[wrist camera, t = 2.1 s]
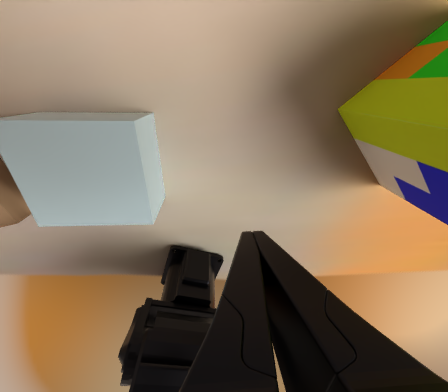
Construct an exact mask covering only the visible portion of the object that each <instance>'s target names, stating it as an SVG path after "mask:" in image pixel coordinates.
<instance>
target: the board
mask: <svg viewBox="0 0 448 392" xmlns="http://www.w3.org/2000/svg"><path fill="white" fill-rule="evenodd" d="M30 214H32V213H31V211H30V209H29V207H28V206H27V204H26V202H25V200H24V198H23V196H22V194H21V192H20V190H19V188H18V186H17V184H16V183H15V181H14V179H13V177H12V175H11V173H10V171H9V169H8V167H7V166H6V165H5V163H4V162H3V161H2V160H1V158H0V227H4V226H8V225H12V224H17V223H19V222H20V221H22V220H23V219H25V218H26V217H27V216H29V215H30Z"/></svg>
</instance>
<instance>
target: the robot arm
mask: <svg viewBox="0 0 448 392" xmlns="http://www.w3.org/2000/svg"><path fill="white" fill-rule="evenodd" d="M174 250H176V251H174ZM218 259H220V260H218ZM222 263H223V257H222V256H221V255H216V254H212V253H207V252H202V251H198V250H193V249H188V248H184V247H179V246H172V247H171V248H170V252H169V255H168V259H167V262H166V266H165V269H164V273H163V276H162V280H161V283H162V284H163V285H164V289H163V293H162V297H161V301H160V300H153V299H152V298H147V299H146V301H145V304H144V305H142V307H140V308H137V310H136V313H135V316H134V319H133V322H132V325H131V327H130V329H129V331H128V334H127V336H126V338H125V340H124V343H123V345H122V347H121V349H120V352H119V356H118V358H119V360H120V362H121V364H122V370H121V372H122V373H123V374H122V379H121V383H120V385H121V386H130V390H129V392H279V389H278V382H277V375H276V368H275V360H274V353H273V346H274V350H275V354H276V357H277V361H278V365H279V368H280V371H281V375H282V379H283V382H284V385H285V390H286V392H448V382H447V381H446V380H444V379H442V378H441V377H440V376H438V375H436V374H435V373H434V372H432V371H431V370H430V369H428V368H427V367H426V366H424V365H423V364H421V363H420V362H419V361H418V360H416V359H415V358H414V357H412V356H411V355H410V354H408V353H407V352H406V351H404V350H403V349H402V348H401V347H399V346H398V345H397V344H395V343H394V342H393V341H391V340H390V339H389V338H387V337H386V336H385V335H383V334H382V333H381V332H380V331H378V330H377V329H376V328H374V327H373V326H371V325H370V324H369V323H368V322H366V321H365V320H364V319H363V318H362V317H360V316H359V315H358V314H357V313H355V312H354V311H353V310H352V309H351V308H349V307H348V306H347V305H346V304H345V303H343V302H342V301H341V300H340V299H339V298H337V297H336V296H335V295H334V294H333V293H332V292H331V291H330V290H327V288H326V287H325V286H324V285H323V284H322V283H320V282H319V281H318V280H317V279H316V278H315V277H314V276H313V275H312V274H310V273H309V272H308V271H307V270H306V269H305V268H304V267H303V266H301V265H300V264H299V263H298V262H297V261H296V260H295V259H294V258H292V257H291V256H290V255H289V254H288V253H287V252H286V251H285V250H283V249H282V248H281V247H280V246H279V245H278V244H277V243H276V242H274V241H273V240H272V239H271V238H270V237H269V236H268V235H267V234H265V233H264V232H263V231H253V232H251V231H245V232H242V233H241V236H240V240H239V243H238V246H237V249H236V252H235V255H234V258H233V261H232V264H231V267H230V270H229V273H228V277H227V280H226V283H225V286H224V290H223V292H222V296H221V298H220V301H219V304H218V307H217V309H216V308H215V289H214V287H215V286H214V281H215V278H216V276H217V274H218V272H219V270H220V268H221V265H222ZM272 343H273V346H272Z"/></svg>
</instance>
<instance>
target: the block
mask: <svg viewBox="0 0 448 392" xmlns="http://www.w3.org/2000/svg"><path fill="white" fill-rule="evenodd" d="M0 154H1V156H2V158H3V160H4V162H5V163H6V165H7V167H8V169H9V171H10V173H11V175H12V177H13V179H14V181H15V183H16V184H17V186H18V188H19V190H20V192H21V194H22V196H23V198H24V200H25V202H26V204H27V206H28V207H29V209H30V211H31V213H32V215H33V217H34V219H35V221H36V223H37V225H38V227H44V226H96V225H148V224H154V222H155V220H156V217H157V215H158V213H159V210H160V208H161V206H162V203H163V201H164V199H165V190H164V183H163V176H162V169H161V162H160V155H159V148H158V141H157V134H156V127H155V120H154V113H145V112H36V113H29V114H22V115H15V116H9V117H2V118H0Z"/></svg>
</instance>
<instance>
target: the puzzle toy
mask: <svg viewBox="0 0 448 392" xmlns="http://www.w3.org/2000/svg"><path fill="white" fill-rule="evenodd" d="M338 111H339V113H340V115H341V117H342V118H343V120H344V122H345V124H346V125H347V127H348V129H349V131H350V133H351V134H352V136H353V138H354V140H355V141H356V143H357V145H358V147H359V149H360V150H361V152H362V154H363V156H364V157H365V159H366V161H367V163H368V165H369V166H370V168H371V170H372V172H373V173H374V175H375V177H376V179H377V181H378V182H379V184H380V185H381V186H382V187H384V188H386V189H387V190H389V191H391V192H393V193H394V194H396V195H398V196H399V197H401V198H403V199H404V200H406V201H408V202H410V203H411V204H413V205H415V206H416V207H418V208H420V209H422V210H423V211H425V212H427V213H428V214H430V215H432V216H433V217H435V218H437V219H439V220H440V221H442V222H444V223H445V224H447V225H448V21H446V22H445V23H444V24H443V25H441V26H440V27H439V28H438V29H437V30H435V31H434V32H433V33H432V34H430V35H429V36H428V37H427V38H425V39H424V40H423V41H422V42H420V43H419V44H418V45H417V46H415V47H414V48H413V49H412V50H410V51H409V52H408V53H407V54H405V55H404V56H403V57H402V58H401V59H399V60H398V61H397V62H396V63H394V64H393V65H392V66H391V67H389V68H388V69H387V70H386V71H384V72H383V73H382V74H381V75H379V76H378V77H377V78H376V79H374V80H373V81H372V82H371V83H369V84H368V85H367V86H366V87H364V88H363V89H362V90H361V91H360V92H358V93H357V94H356V95H355V96H353V97H352V98H351V99H350V100H348V101H347V102H346V103H345V104H343V105H342V106H341V107H340V108H338Z"/></svg>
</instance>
